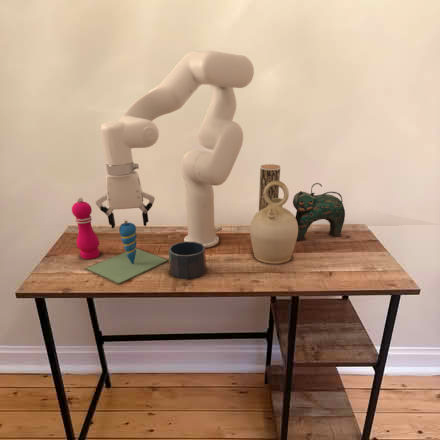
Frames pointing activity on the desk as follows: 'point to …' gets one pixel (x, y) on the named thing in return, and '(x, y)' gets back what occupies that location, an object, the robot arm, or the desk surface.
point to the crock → (187, 259)
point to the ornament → (129, 239)
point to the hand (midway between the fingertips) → (129, 225)
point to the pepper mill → (85, 230)
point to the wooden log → (267, 176)
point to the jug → (274, 229)
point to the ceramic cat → (318, 211)
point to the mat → (126, 266)
